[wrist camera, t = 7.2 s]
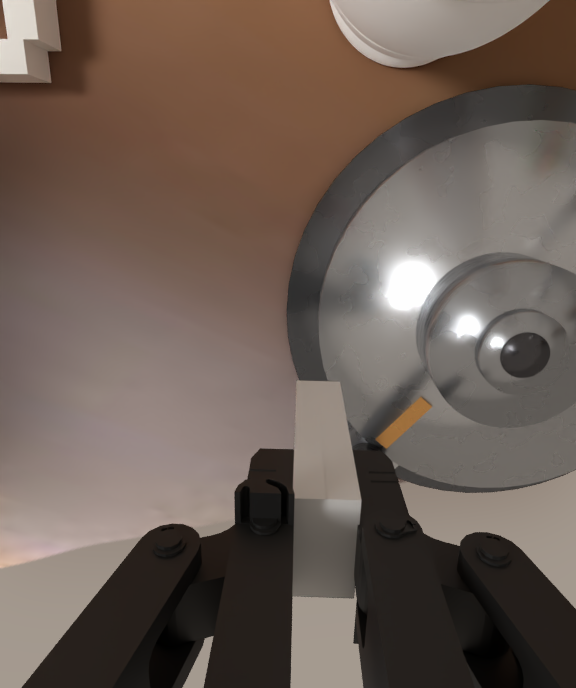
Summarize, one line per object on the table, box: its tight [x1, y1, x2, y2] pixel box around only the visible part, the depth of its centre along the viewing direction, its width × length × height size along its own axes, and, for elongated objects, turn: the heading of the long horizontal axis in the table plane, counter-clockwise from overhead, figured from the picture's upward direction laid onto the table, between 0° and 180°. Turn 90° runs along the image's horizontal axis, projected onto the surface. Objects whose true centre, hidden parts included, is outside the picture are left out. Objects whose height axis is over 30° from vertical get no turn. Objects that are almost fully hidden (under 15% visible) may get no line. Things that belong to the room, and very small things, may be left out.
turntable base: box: [287, 85, 576, 493], centre depth 31 cm, size 26×26×1 cm
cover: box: [416, 252, 576, 428], centre depth 27 cm, size 9×9×4 cm
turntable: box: [318, 120, 576, 488], centre depth 27 cm, size 23×25×8 cm
